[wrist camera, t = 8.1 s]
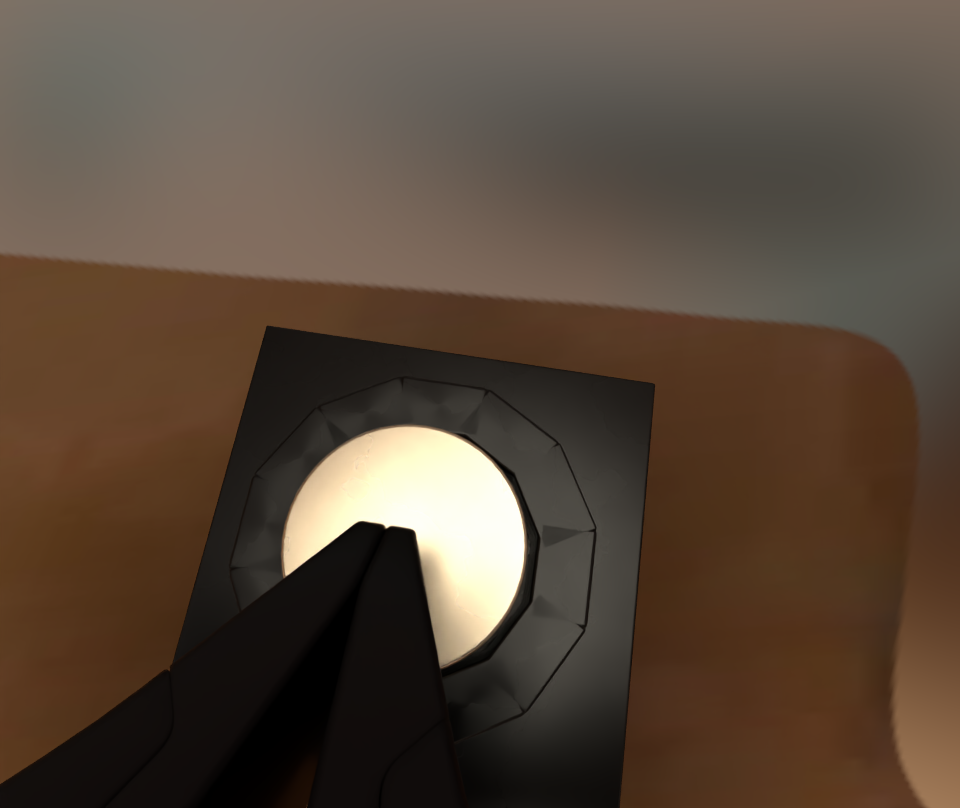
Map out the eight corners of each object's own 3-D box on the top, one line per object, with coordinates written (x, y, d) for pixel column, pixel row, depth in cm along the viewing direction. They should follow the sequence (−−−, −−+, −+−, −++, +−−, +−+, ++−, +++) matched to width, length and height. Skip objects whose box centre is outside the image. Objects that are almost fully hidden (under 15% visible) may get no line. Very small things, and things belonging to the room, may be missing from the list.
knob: (504, 680, 12) (508, 698, 10) (287, 643, 12) (251, 652, 11) (534, 463, 14) (543, 442, 12) (336, 432, 14) (312, 406, 12)
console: (576, 765, 18) (638, 881, 11) (243, 706, 19) (95, 780, 11) (610, 436, 21) (677, 357, 14) (320, 392, 21) (240, 292, 14)
